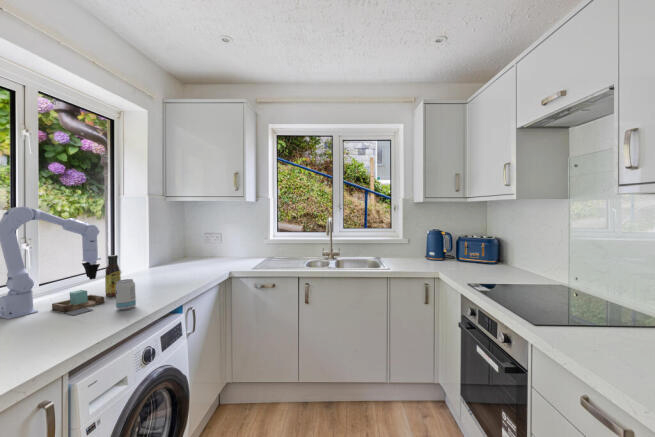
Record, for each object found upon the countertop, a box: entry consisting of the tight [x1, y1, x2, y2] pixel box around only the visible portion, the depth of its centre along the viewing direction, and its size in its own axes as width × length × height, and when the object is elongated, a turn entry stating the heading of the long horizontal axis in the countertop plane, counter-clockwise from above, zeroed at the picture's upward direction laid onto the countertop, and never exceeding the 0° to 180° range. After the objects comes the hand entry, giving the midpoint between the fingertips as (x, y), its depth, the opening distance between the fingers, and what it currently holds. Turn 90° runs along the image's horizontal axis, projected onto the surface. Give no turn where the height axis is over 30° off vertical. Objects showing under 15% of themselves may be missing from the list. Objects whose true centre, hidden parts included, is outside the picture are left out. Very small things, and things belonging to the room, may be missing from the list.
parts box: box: [51, 294, 105, 314], centre depth 135 cm, size 15×10×3 cm, turn 155°
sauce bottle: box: [104, 254, 122, 297], centre depth 152 cm, size 7×6×20 cm
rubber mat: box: [63, 307, 94, 317], centre depth 127 cm, size 7×7×1 cm
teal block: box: [69, 289, 88, 305], centre depth 135 cm, size 4×4×5 cm
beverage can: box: [115, 278, 137, 311], centre depth 131 cm, size 7×7×12 cm
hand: (91, 278), depth 147 cm, fingers open, 7 cm apart
